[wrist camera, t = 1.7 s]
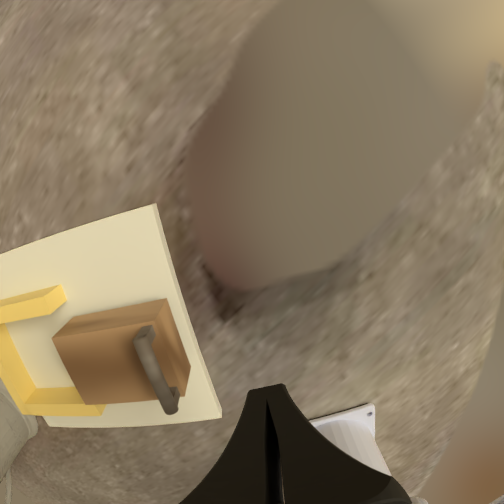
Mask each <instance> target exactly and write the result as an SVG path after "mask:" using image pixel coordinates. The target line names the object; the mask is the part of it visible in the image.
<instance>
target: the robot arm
mask: <svg viewBox="0 0 504 504" xmlns="http://www.w3.org/2000/svg"><path fill="white" fill-rule="evenodd" d="M369 412H370V413H369ZM281 467H282V476H283V487H284V499H285V504H428V502H427V501H426V500H425V499H424V498H420V497H417V496H412V497H409V496H408V494H407V493H406V491H405V490H404V489H403V488H402V486H401V485H400V484H399V483H398V482H397V481H396V480H395V479H394V478H393V477H392V476H391V473H390V471H389V469H388V467H387V465H386V463H385V461H384V459H383V457H382V455H381V453H380V450H379V448H378V446H377V444H376V442H375V407H374V405H373V404H371V403H369V404H366V405H363V406H360V407H356V408H353V409H350V410H347V411H343V412H340V413H336V414H333V415H329V416H326V417H322V418H318V419H314V420H310V421H308V420H307V418H306V417H305V416H304V415H303V414H302V412H301V411H300V410H299V409H298V407H297V406H296V405H295V403H294V402H293V400H292V399H291V397H290V395H289V393H288V391H287V389H286V387H285V385H284V384H282V383H281V384H277V385H272V386H267V387H263V388H258V389H253V390H250V391H249V392H248V394H247V398H246V402H245V405H244V408H243V411H242V414H241V417H240V419H239V421H238V424H237V426H236V429H235V431H234V433H233V435H232V437H231V439H230V441H229V443H228V445H227V446H226V448H225V450H224V452H223V453H222V455H221V456H220V458H219V459H218V461H217V462H216V464H215V465H214V466H213V468H212V469H211V470H210V472H209V473H208V474H207V476H206V477H205V478H204V479H203V480H202V482H201V483H200V484H199V485H198V486H197V487H196V488H195V489H194V490H193V491H192V492H191V493H190V494H189V495H188V496H187V497H186V498H185V499H184V500H183V501H181V502H180V503H179V504H284V501H283V492H282V477H281ZM490 504H504V494H503V495H502V496H500V497H499V498H497V499H496V500H494V501H493V502H491V503H490Z"/></svg>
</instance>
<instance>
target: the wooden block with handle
mask: <svg viewBox="0 0 504 504" xmlns="http://www.w3.org/2000/svg"><path fill="white" fill-rule="evenodd" d="M51 339H52V341H53V343H54V345H55V347H56V350H57V352H58V354H59V356H60V358H61V360H62V362H63V364H64V366H65V368H66V370H67V372H68V374H69V376H70V378H71V380H72V382H73V383H74V385H75V387H76V389H77V391H78V393H79V394H80V396H81V398H82V400H83V401H84V403H85V405H97V404H115V403H129V402H141V401H151V400H159V402H160V404H161V406H162V408H163V410H164V412H165V414H167V415H173V414H175V413H177V412H178V410H179V408H178V402H179V398H180V397H185V393H186V388H187V384H188V379H189V374H190V370H191V365H190V362H189V360H188V357H187V354H186V352H185V349H184V346H183V343H182V341H181V338H180V335H179V332H178V329H177V326H176V324H175V321H174V318H173V315H172V312H171V309H170V306H169V303H168V300H167V298H164V299H159V300H154V301H150V302H145V303H140V304H135V305H130V306H125V307H120V308H115V309H110V310H105V311H100V312H95V313H90V314H85V315H80V316H74V317H73V318H71V319H70V320H69V321H68V322H67V323H66V324H65V325H64V326H63V327H62V328H61V329H60V330H59V331H58V332H57V333H56V334H55V335H54V336H53V337H52V338H51Z"/></svg>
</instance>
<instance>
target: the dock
mask: <svg viewBox="0 0 504 504" xmlns="http://www.w3.org/2000/svg"><path fill="white" fill-rule="evenodd" d="M164 298H167V300H168V303H169V306H170V309H171V312H172V315H173V318H174V321H175V324H176V326H177V329H178V332H179V335H180V338H181V341H182V343H183V346H184V349H185V352H186V354H187V357H188V360H189V362H190V365H191V370H190V374H189V379H188V384H187V388H186V393H185V397H180V398H179V402H178V408H179V410H178V412H177V413H175V414H173V415H167V414H165V412H164V410H163V408H162V406H161V404H160V402H159V400H151V401H141V402H129V403H115V404H97V405H85V403H84V401H83V400H82V398H81V396H80V394H79V393H78V391H77V389H76V387H75V385H74V383H73V382H72V380H71V378H70V376H69V374H68V372H67V370H66V368H65V366H64V364H63V362H62V360H61V358H60V356H59V354H58V352H57V350H56V347H55V345H54V343H53V341H52V339H51V338H52V337H53V336H54V335H55V334H56V333H57V332H58V331H59V330H60V329H61V328H62V327H63V326H64V325H65V324H66V323H67V322H68V321H69V320H70V319H71V318H73V317H74V316H80V315H85V314H90V313H95V312H100V311H105V310H110V309H115V308H120V307H125V306H130V305H135V304H140V303H145V302H150V301H154V300H159V299H164ZM0 378H1V379H2V381H3V383H4V385H5V387H6V388H7V390H8V392H9V393H10V395H11V397H12V399H13V400H14V402H15V403H16V405H17V407H18V408H19V410H20V411H21V413H22V415H39V416H43V417H44V419H45V421H46V422H47V424H48V425H49V426H51V427H79V428H107V427H135V426H151V425H164V424H175V423H184V422H193V421H201V420H209V419H216V418H222V408H221V406H220V403H219V401H218V398H217V395H216V393H215V390H214V387H213V385H212V382H211V379H210V377H209V374H208V371H207V368H206V365H205V363H204V360H203V357H202V354H201V351H200V348H199V346H198V343H197V340H196V337H195V334H194V331H193V328H192V325H191V322H190V319H189V316H188V313H187V309H186V306H185V303H184V300H183V297H182V294H181V290H180V287H179V284H178V280H177V277H176V274H175V270H174V267H173V264H172V260H171V257H170V253H169V250H168V246H167V243H166V239H165V235H164V232H163V228H162V224H161V220H160V217H159V213H158V209H157V205H156V203H155V204H151V205H148V206H144V207H141V208H137V209H134V210H130V211H127V212H124V213H120V214H117V215H114V216H110V217H107V218H104V219H101V220H97V221H94V222H91V223H88V224H85V225H82V226H79V227H75V228H72V229H69V230H66V231H63V232H60V233H58V234H55V235H52V236H49V237H46V238H43V239H40V240H37V241H35V242H32V243H29V244H26V245H24V246H21V247H18V248H15V249H13V250H10V251H8V252H5V253H2V254H0Z"/></svg>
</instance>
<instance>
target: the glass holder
mask: <svg viewBox="0 0 504 504" xmlns="http://www.w3.org/2000/svg"><path fill="white" fill-rule="evenodd" d="M37 432H38V423H37V420H36V417H35V415H22V413H21V411H20V410H19V408H18V407H17V405H16V403H15V402H14V400H13V399H12V397H11V395H10V393H9V392H8V390H7V388H6V387H5V385H4V383H3V381H2V379H1V378H0V483H1V481H2V479H3V478H4V476H5V474H6V500H5V504H11V499H12V482H11V465H12V463H13V462H14V460H15V458H16V457H17V455H18V454H19V452H20V451H21V449H22V447H23V446H24V444H25V443H26V441H27V440H28V439H30V438H32V437H34V436H35V435H36V434H37Z"/></svg>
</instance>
